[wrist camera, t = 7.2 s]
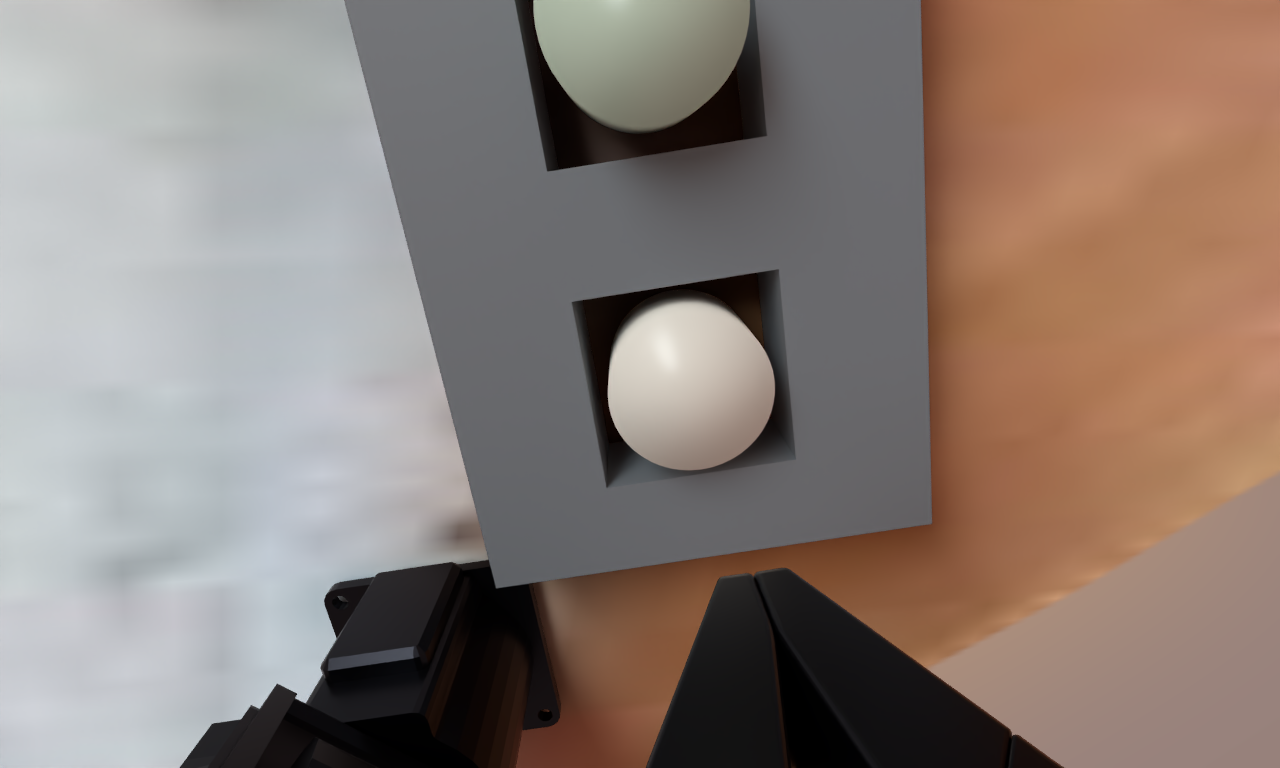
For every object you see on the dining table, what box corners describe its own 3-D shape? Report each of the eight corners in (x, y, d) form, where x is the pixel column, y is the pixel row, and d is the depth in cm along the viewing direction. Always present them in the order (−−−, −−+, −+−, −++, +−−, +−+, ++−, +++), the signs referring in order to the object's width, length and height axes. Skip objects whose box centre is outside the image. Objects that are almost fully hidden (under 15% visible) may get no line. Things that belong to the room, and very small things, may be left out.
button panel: (890, 475, 21) (931, 523, 18) (513, 531, 21) (496, 588, 18) (838, -726, 13) (900, -979, 10) (237, -610, 13) (131, -825, 10)
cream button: (758, 414, 19) (781, 457, 16) (622, 435, 19) (622, 481, 17) (744, 278, 18) (766, 298, 15) (599, 301, 18) (594, 326, 15)
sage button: (735, 119, 16) (760, 107, 13) (567, 146, 16) (556, 141, 13) (715, -76, 14) (737, -137, 12) (534, -46, 15) (512, -98, 12)
